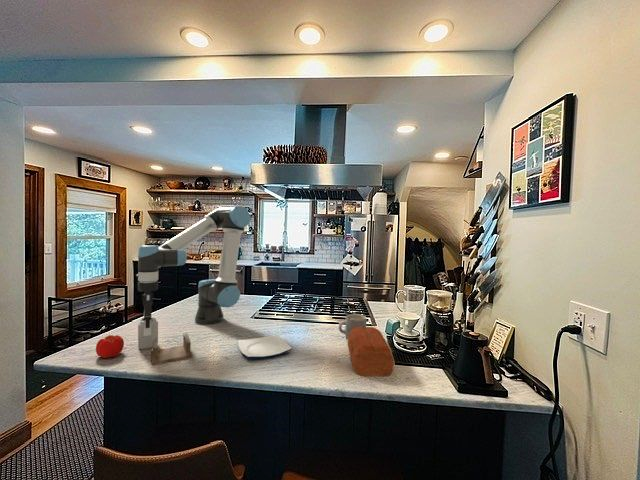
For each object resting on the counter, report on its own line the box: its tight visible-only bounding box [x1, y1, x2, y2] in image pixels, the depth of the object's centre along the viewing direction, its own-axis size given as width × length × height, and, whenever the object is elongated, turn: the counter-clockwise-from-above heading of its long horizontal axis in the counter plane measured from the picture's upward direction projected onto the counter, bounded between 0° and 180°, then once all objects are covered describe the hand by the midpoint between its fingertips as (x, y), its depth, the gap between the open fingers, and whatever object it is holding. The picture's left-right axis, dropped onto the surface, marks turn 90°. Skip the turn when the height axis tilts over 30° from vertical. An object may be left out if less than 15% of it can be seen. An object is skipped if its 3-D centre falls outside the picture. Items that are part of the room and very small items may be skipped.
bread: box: [347, 326, 395, 378], centre depth 120 cm, size 16×27×11 cm, turn 0°
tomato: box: [95, 334, 125, 359], centre depth 119 cm, size 9×9×8 cm
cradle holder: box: [150, 332, 193, 366], centre depth 120 cm, size 14×12×7 cm
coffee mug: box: [338, 313, 367, 340], centre depth 144 cm, size 13×10×10 cm
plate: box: [237, 333, 293, 360], centre depth 128 cm, size 20×20×3 cm
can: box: [137, 317, 159, 351], centre depth 128 cm, size 8×8×12 cm
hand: (147, 330), depth 127 cm, fingers open, 13 cm apart
